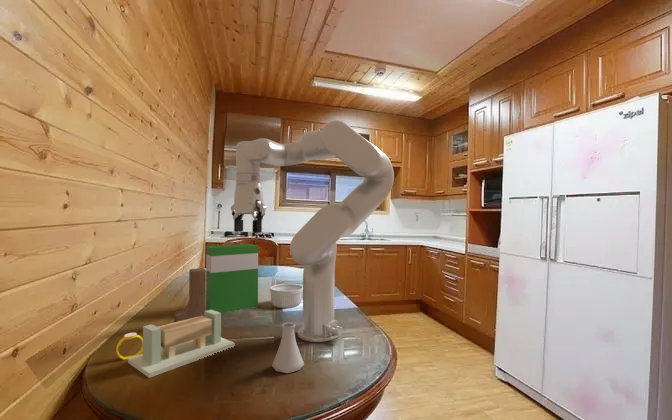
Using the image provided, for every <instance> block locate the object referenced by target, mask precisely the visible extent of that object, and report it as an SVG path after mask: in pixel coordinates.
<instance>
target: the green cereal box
mask: <svg viewBox="0 0 672 420" xmlns="http://www.w3.org/2000/svg"><path fill="white" fill-rule="evenodd" d="M205 247H206V249H205V250H206V253H205V254H206V255H205V261H206V262H205V263H206V264H205V265H206V266H205V270H206V311H207V310H214V311H217V312H220V313H221V314H224V313H223V312H225V313H229V312H228V311H231V312H236V311H235V310H237V311H241V310H240V309H243V310H247V309H246V308H249V309H253V308H252V307H255V308H258V307H259V244H257V245H256V244H255V245H253V243H245V244H243V243H242V244H226V245H222V244H221V245H206V246H205Z"/></svg>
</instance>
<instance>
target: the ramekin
mask: <svg viewBox="0 0 672 420" xmlns="http://www.w3.org/2000/svg"><path fill="white" fill-rule="evenodd" d="M269 291H270V299H271V304H272V306H274V307H276V308H279V309H280V308H281V309H289V308H290V309H291V308H295V307H298V306H300V304H302V303H301V302H302V300H303V285H301V284H296V283H281V284H280V283H279V284H275V285H271V286H270V287H269Z"/></svg>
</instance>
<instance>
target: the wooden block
mask: <svg viewBox="0 0 672 420" xmlns="http://www.w3.org/2000/svg"><path fill="white" fill-rule="evenodd" d="M188 274H189V277H188V278H189V280H188V285H189V287H188V288H189V290H188V291H189V292H188V293H189V294H188V297H189V298H188V301H187V302H188V303H187V305H186V306H185V307H184V308H183V309H180V310H178V311H175V312H174V313H173V323H175V322H179V321H183V320H187V319H191V318H195V317H199V316H204V317H205V311H207V310H206V268H203V267H200V268H190V269H189V273H188Z"/></svg>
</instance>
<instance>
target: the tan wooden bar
mask: <svg viewBox="0 0 672 420" xmlns="http://www.w3.org/2000/svg"><path fill="white" fill-rule="evenodd" d="M157 327H159V328H161V348H162V347H163V348H168V347H171V346H174V345H178V344H181V343H185V342H188V341H191V340H195V339H198V338H201V337H205V336H208V335H212V319H209V318H207V317H204V316H199V317H195V318H191V319H187V320H183V321H179V322H175V323H174V322H171V323H167V324H163V325H159V326H158V325H157Z"/></svg>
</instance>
